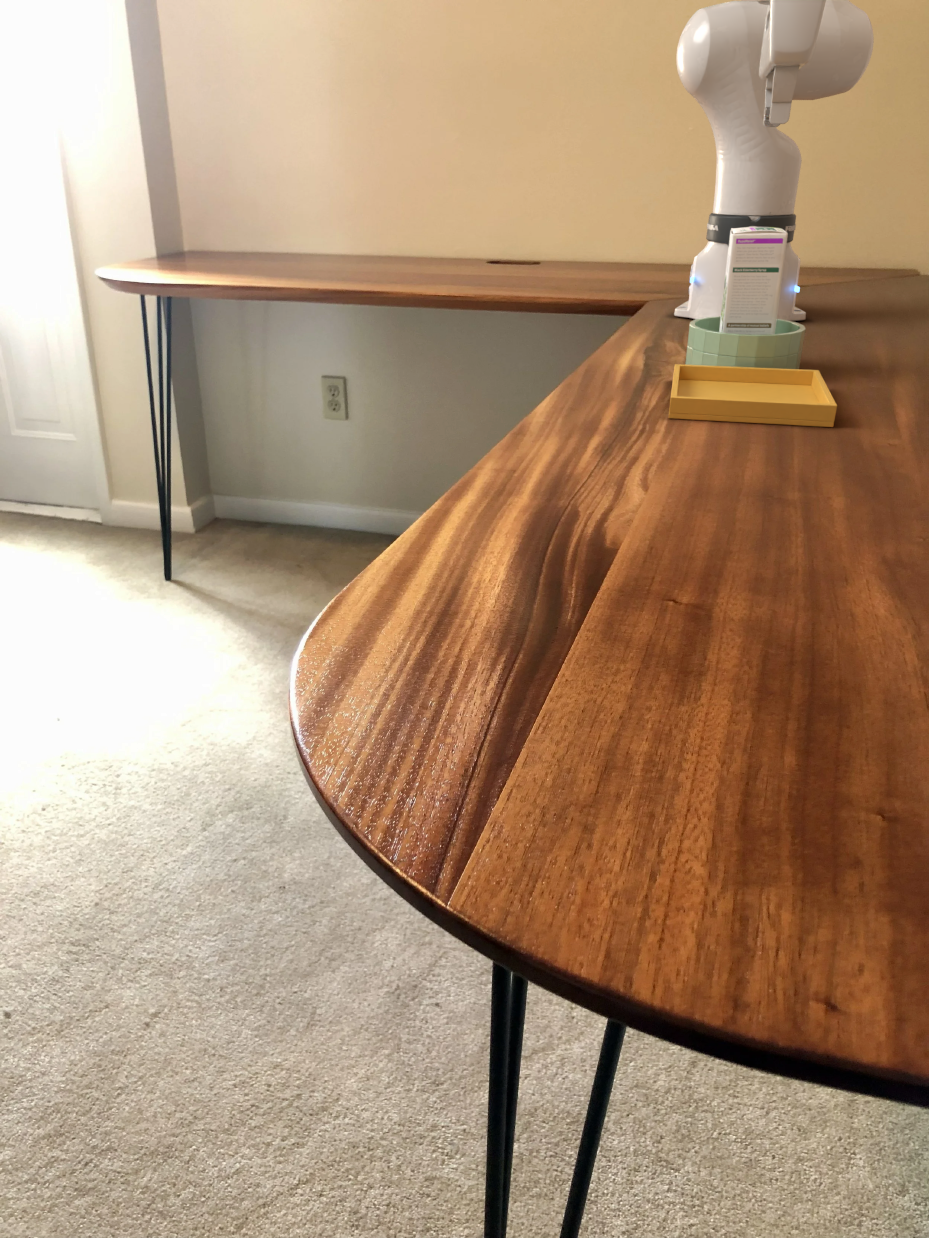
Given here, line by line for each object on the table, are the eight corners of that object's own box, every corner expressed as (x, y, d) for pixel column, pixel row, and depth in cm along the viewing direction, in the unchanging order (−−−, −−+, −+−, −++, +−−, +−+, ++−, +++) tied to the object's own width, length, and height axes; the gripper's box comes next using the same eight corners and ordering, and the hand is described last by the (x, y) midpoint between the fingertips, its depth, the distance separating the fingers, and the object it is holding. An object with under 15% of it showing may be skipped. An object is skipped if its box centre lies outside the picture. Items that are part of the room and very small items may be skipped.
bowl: (685, 357, 108) (690, 314, 105) (792, 361, 105) (799, 317, 103) (683, 380, 97) (689, 333, 95) (802, 385, 94) (810, 337, 92)
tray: (672, 382, 96) (674, 364, 95) (815, 389, 93) (819, 370, 92) (668, 418, 83) (670, 397, 82) (833, 427, 80) (837, 405, 79)
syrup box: (770, 373, 98) (792, 230, 91) (715, 371, 99) (733, 230, 92) (765, 362, 103) (786, 226, 96) (713, 360, 104) (729, 226, 97)
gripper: (756, -22, 93) (738, 129, 99) (769, -64, 75) (746, 122, 81) (820, -25, 91) (798, 128, 98) (848, -69, 74) (818, 121, 80)
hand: (774, 125), depth 89 cm, fingers open, 8 cm apart
